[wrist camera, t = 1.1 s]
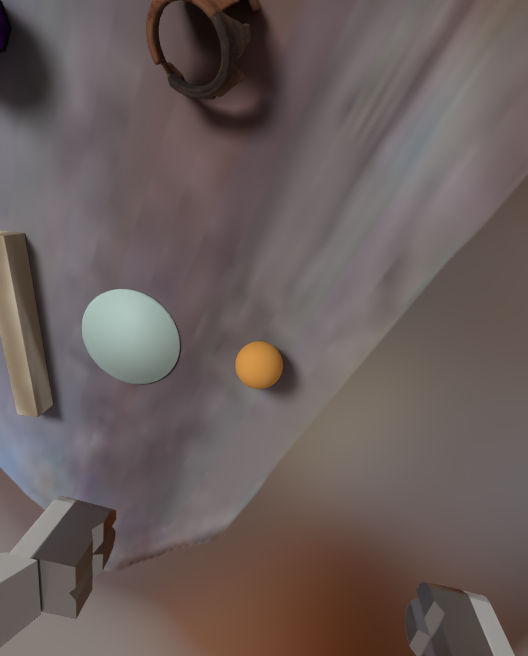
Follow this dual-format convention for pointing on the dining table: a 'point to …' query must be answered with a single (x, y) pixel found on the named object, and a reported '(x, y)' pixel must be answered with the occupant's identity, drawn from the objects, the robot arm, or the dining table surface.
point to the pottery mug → (231, 44)
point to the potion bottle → (4, 28)
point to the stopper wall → (22, 328)
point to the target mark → (130, 336)
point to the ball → (259, 365)
